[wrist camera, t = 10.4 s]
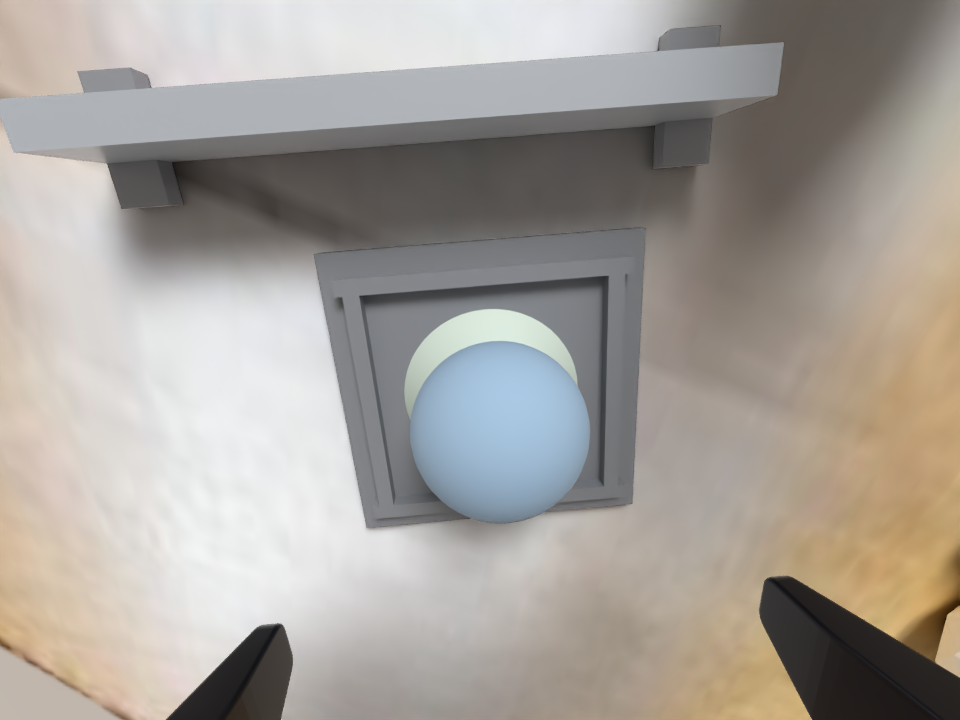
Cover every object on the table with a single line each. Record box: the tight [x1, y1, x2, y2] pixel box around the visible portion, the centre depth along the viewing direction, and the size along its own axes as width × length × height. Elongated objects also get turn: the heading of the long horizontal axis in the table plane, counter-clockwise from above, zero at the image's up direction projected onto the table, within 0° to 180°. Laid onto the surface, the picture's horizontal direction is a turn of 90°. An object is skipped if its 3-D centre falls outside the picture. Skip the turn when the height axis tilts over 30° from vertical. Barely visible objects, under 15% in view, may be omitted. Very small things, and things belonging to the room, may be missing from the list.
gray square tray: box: [314, 228, 646, 528], centre depth 18 cm, size 12×12×1 cm
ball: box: [410, 341, 590, 523], centre depth 15 cm, size 6×6×6 cm
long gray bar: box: [0, 25, 784, 209], centre depth 13 cm, size 20×4×4 cm, turn 94°
